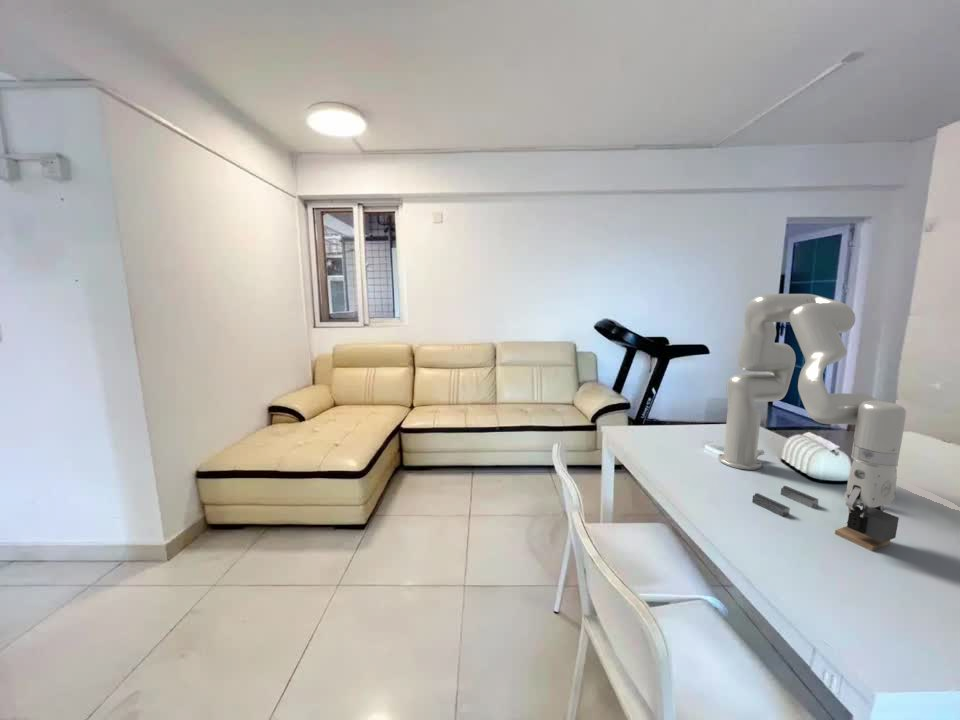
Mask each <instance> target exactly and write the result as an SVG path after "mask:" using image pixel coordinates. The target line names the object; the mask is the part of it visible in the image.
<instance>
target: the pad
mask: <svg viewBox="0 0 960 720" xmlns="http://www.w3.org/2000/svg"><path fill="white" fill-rule="evenodd" d="M834 534H835V535H837V536H839V537H841V538H843V539H845V540H847V541H850V542H852V543H854V544H856V545H858V546H860V547H862V548H864V549H867V550H869V551H871V552H873V551H875V550H878V549H881V548H884V547H886V546H889V545H890V544H891V540H888V541H886V542H883V543H882V542H880V541H878V540H876V539H873V538H871V537H869V536H867V535H864V534H862V533H860V532H857V531H855V530H853V529H851V528H848V527H847V525H846V526H843V527H841V528H838V529H835V532H834Z"/></svg>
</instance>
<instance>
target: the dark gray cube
mask: <svg viewBox="0 0 960 720" xmlns="http://www.w3.org/2000/svg"><path fill="white" fill-rule="evenodd" d="M866 517H867V518H868V520H867V526H866V533H864V535H867V536H869V537H871V538H873V539H876V540H878V541H880V542H882V543H883V542H886V541H888V540H890V541H891V540H893V539H896V535H897V531H898V530H897V529H898V525H899V519H900V517H899V516H896V515H893V514H890V513H888V512H887V511H886V512H885V511H884V510H883V511H880V510H878V509H875V508H868V511H867V514H866Z"/></svg>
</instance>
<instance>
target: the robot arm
mask: <svg viewBox="0 0 960 720" xmlns="http://www.w3.org/2000/svg"><path fill="white" fill-rule="evenodd" d="M774 323H790V325H791V328H792V331H793V333H794V335H795V339H796V341H797V343H798V346H799V348H800V351H801V352H802V355H803V358H804V361H805V362H804V364H803V366H802V368H801V370H800V371H799V375H798V383H797V390H798V394H799V397H800V400H801V402H802V405H803V407H804V408H805V409H804V410H805V411H806V413H807V414H808V415H809V417H810V418H811V419H812V420H813V421H814V422H816V423H819V424H823V425H855V428H854V436H853V444H852V448H851V449H852V451H851V455H850V457H851V458H852V459H853V460H852V464H851V467H850V471H849V475H848V478H847V483H846V490H845V491H846V492H845V493H846V495H845V496H846V497H847V499H848V500H846V502H845V506H846V507H847V508H848V509H847V510H848V517H847V525H846V526H847V527H848V528H851V529H853V530H855V531H857V532H860V533H862V534H864V533H866V526H867V520H868V518H867V517H866V514H867V511H868V508H875V509H878V510H880V511H883V512H884V510H885V505H887V504H890V503H892V502H893V501H894V500H895V498H896V489H897V476H898V475H897V474H898V473H897V472H898V470H897V467H898V466H899V465H898V464H899V459H900V453H901V447H902V441H903V435H904V430H905V429H904V428H905V424H906V423H905V422H906V417H907V411H906V409H905V407H903V406H902V405H899V404H897V403H894V402H888V401H883V400H880V399H877V398H876V397H873V396H871V395H867V394H864V393H843V392H842V393H839V392H838V393H829V391H828V390H827V387H826V384H825V381H824V372H825V369H826V367H828V366H829V365H832V364H835V363H837V362H839V361H841V360H843V359H844V358H845V357H846V356H847V354H848V351H847V348H846V346H845V344H844V342H843V339H842V338H841V335H840V334H843V333H846V332H848V331H850V330H851V329H852V328H853V327H854V325H855V323H856V314H855V312H854V310H853V309H852V308H851V306H849V305H848V304H846V303H844V302H841V301H839V300H834V299H832V298H828V297H824V296H821V295H817V294H812V293H769V294H768V293H767V294H762V295H761V294H760V295H758V296H755V297H754V298H752V299H750V301H749V302H748V303H747V306H746V308H745V311H744V330H743V335H742V340H741V344H740V349H739V354H738V358H737V362H738V366H739V368H740V369H742V370H743V371H745V372H746V371H747V372H751V373H739V374H734V375H731V377H729V378H728V379H727V382H726V395H727V396H726V397H727V414H726V422H725V423H726V424H725V433H724V435H725V437H724V446H723V453H724V454H721V453H719V454H718V455H717V456H718V457H717V459H718V461H719V462H721V463H722V464H724V465H726V466H727V467H728V466H729V467H732V468H735V469H739V470H748V471H749V470H752V471H755V470H759V469H761V468H762V462H761V461H760V460H759V459H758V457H759V456H764V455H765V450H763V449H758V446H759V437H760V428H761V420H762V417H761V416H762V415H761V412H760V410H759V408H758V406H757V405H756V403H759V402H764V403H765V402H766V403H767V402H779V401H780V400H783V399H784V398H785V397H786V395H787V393H788V390H789V387H790V384H791V380H792V376H793V374H794V369H795V365H796V362H797V361H796V360H797V359H796V353H795V351H794V349H793V347H791V345H789V344H787V343H783V342H775V340H776V337H777V328H776V326H775V324H774ZM752 372H755V373H752ZM757 372H761V373H757ZM762 372H765V373H762ZM859 499H860V500H862V501H863V503H862V502H859V501H858V500H859ZM858 505H859V506H858ZM860 506H861V507H862V508H860Z"/></svg>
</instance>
